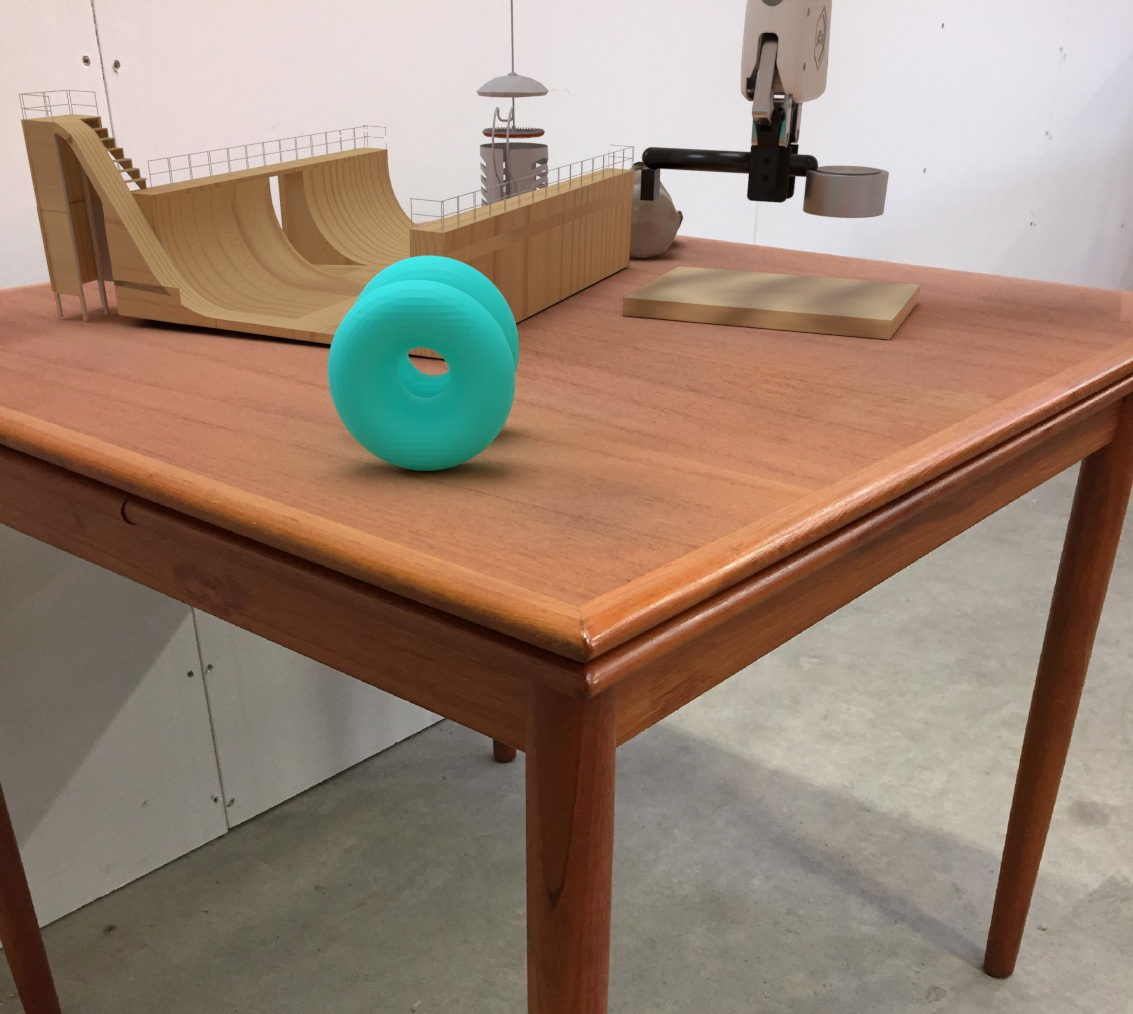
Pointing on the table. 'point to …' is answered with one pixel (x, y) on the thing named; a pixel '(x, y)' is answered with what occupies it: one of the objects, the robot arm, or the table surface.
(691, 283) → the cutting board
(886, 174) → the saucepan
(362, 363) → the donuts
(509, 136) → the bird feeder
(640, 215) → the ceramic sculpture
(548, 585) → the table surface
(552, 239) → the skate ramp
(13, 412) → the table surface
